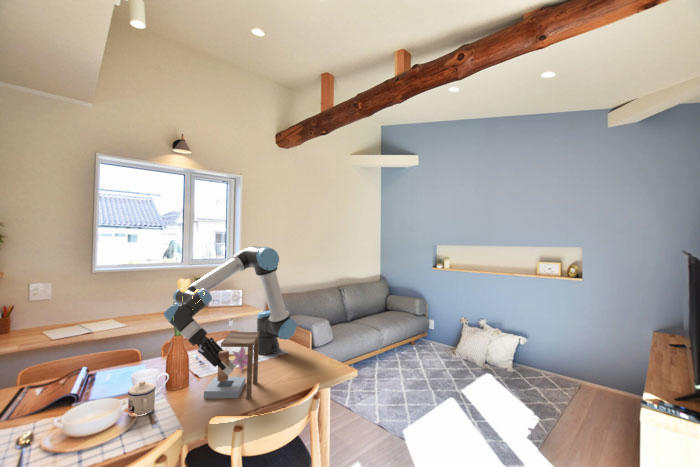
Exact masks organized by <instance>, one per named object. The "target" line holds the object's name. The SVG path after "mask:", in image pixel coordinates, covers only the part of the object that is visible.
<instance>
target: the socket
mask: <svg viewBox="0 0 700 467" xmlns="http://www.w3.org/2000/svg"><path fill="white" fill-rule="evenodd" d="M217 379H218V376H214V377H213V378H212V379H211V381H210V382H209V383H208V385H207V386H206V388H205V389H204V391H203V399H238V398H239V397H240V395H241V393H242V391H243V388H244V386H246V385H245V384H246V376H228V380H227V381H224V382H219V381H218V380H217Z"/></svg>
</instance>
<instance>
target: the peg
mask: <svg viewBox="0 0 700 467" xmlns="http://www.w3.org/2000/svg"><path fill="white" fill-rule="evenodd" d="M218 357H219V359H220V360H221V361H224V362H225V363H226V364H227V365H228V366H229V360H230V350H224V351H220V352H219V353H218ZM217 377H218V379H217V380H218V381H219V382H224V381H227V380H228V377H229V376H227V375H226V374H225V373H224V372H223V371H222V370H221V369H220V368H219V367H218V366H217Z"/></svg>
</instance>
